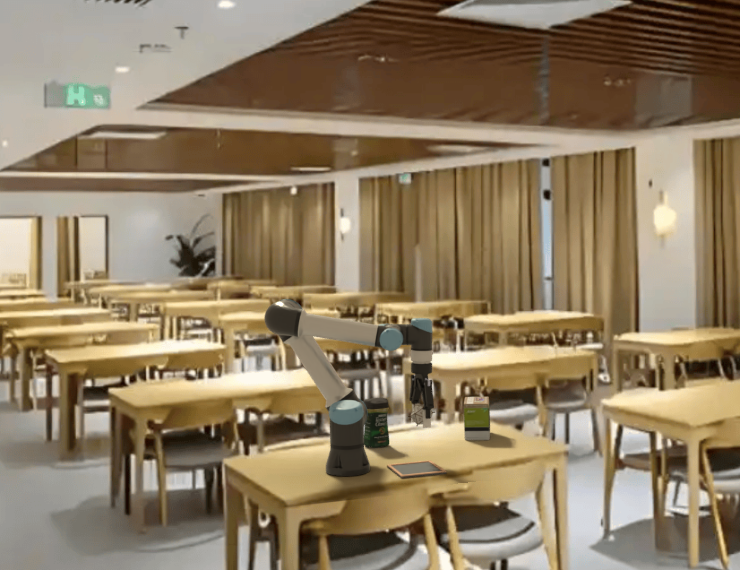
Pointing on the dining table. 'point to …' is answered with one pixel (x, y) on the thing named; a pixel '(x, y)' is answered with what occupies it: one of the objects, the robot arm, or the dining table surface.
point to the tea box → (477, 418)
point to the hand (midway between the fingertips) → (421, 424)
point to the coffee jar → (376, 423)
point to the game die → (418, 414)
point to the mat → (416, 469)
